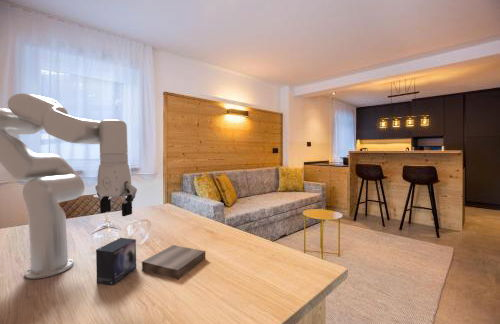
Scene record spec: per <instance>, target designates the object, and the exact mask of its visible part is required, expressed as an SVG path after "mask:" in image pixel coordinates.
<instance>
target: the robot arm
mask: <svg viewBox="0 0 500 324" xmlns="http://www.w3.org/2000/svg"><path fill="white" fill-rule="evenodd" d="M43 130H44V132H46V133H47V134H48V135H49V136H52V137H54V138H56V139H58V140H62V141H64V142H67V143H71V144H85V145H86V144H88V145H89V144H90V145H99V159H100V161H99V162H100V164H99V165H98V171H97V183H96V185H95V186H94V187H95V191H96V195H97V196H98V201H99V209H100V210H99V211H100V214H105V213H108V212H112V211H111V209H112V208H111V206H112V205H111V198H120V199H121V201H122V203H121V216H122V217H127V216H131V215H132V214H133V202H134V199H135V198H136V194H137V191H138V189H137V188H136V187H135V186H134V185H133V184H132V178H131V177H132V176H131V172H130V166H129V157H128V156H129V153H128V127H127V123H126V122H125V121H123V120H120V119H110V118H109V119H102V120H93V119H88V118H81V117H80V118H79V117H74V116H72V115H69V113H68V110H66V108H65V107H64V106H63V105H62V104H61V103H60V102H58V101H57V100H55V99H53V98H50V97H45V96H41V95H36V94H32V93H24V92H21V93H20V92H19V93H16V94H14V95H11V96H10V98H8V101H7V108H6V107H5V108H3V107H0V164H1V165H2V167H3V168H4V169H5V170H6V171H7V172H8V173H9V174H10V176H11V177H12V178H14V180H16V181H18V182H23V183H24V182H25V184H24V185H23V187H22V198H23V200H24V203H25V208H26V211H27V218H28V219H27V220H28V233H29V234H28V235H29V250H30V251H29V253H30V257H29V260H30V267H28V268H27V269H26V270H25V271H24V277H25V278H28V279H30V280H31V279H32V280H33V279H35V280H36V279H42V278H49V277H52V276H55V275H58V274H62V273H63V272H65V271H67V270H69V269H70V268H72V267H73V265H74V264H75V263H74V259H72V258H70V257H68V253H69V252H68V235H67V232H68V231H67V217H66V212H65V211H64V209H63V208H62V207H61V206H60V203H63V202H68V201H72V200H75V199H78V198H79V197H81V196H82V195H83V194H84V193H85V192H84V191H85V183H84V180H83V179H82V177H81V176H80V174H78V173H77V172H76V171H75V169H74V168H73V167H72V166H71V165H70V164H69V163H68V162H67V161H66V160H65V159H64V158H63V157H62V156H60V155H57V154H55V153H38V152H37V153H36V152H33V151H32V150H31V149H30V148H29V147H28V146H27V144H25V142H23V141H22V140H20V139H18V138H17V137H14V136H13V135H14V134H15V135H34V134H36V133H39V132H41V131H43ZM12 134H13V135H12Z"/></svg>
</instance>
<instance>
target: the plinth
mask: <svg viewBox="0 0 500 324" xmlns="http://www.w3.org/2000/svg"><path fill="white" fill-rule="evenodd" d="M205 260H206V251H205V250H200V249H197V248H196V249H195V248H190V247H186V246H180V245H175V244H172V245H170V246H169V247H167V248H165V249H163V250H161V251H159V252H158V253H155V254H154V255H152V256H150V257H148V258H146V259H144V260H143V261H141V271H143V272H146V273H147V272H148V273H152V274H156V275H159V276H163V277H167V278H169V279H174V280H180V279H181V278H182V277H184V276H185V275H187V274H188V273H189V272H191V270H193V269H195V268H197V266H199V264H201V263H202V262H204V261H205Z"/></svg>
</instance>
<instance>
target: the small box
mask: <svg viewBox="0 0 500 324" xmlns="http://www.w3.org/2000/svg"><path fill="white" fill-rule="evenodd" d="M95 254H96V255H95V256H96V257H95V258H96V259H95V261H96V283H97V284H103V285H109V286H115V285H116V284H117V283H118V282H120V281H122V280H123V279H124V278H125V277H127V276H128V275H130V274H131V273H133V272H134V271H135V270H137V239H135V238H127V237H126V238H125V237H120V238H117V239H116V240H113V241H111V242H109V243H107V244H105V245H103V246H101V247H99V248H97V249H95Z"/></svg>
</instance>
